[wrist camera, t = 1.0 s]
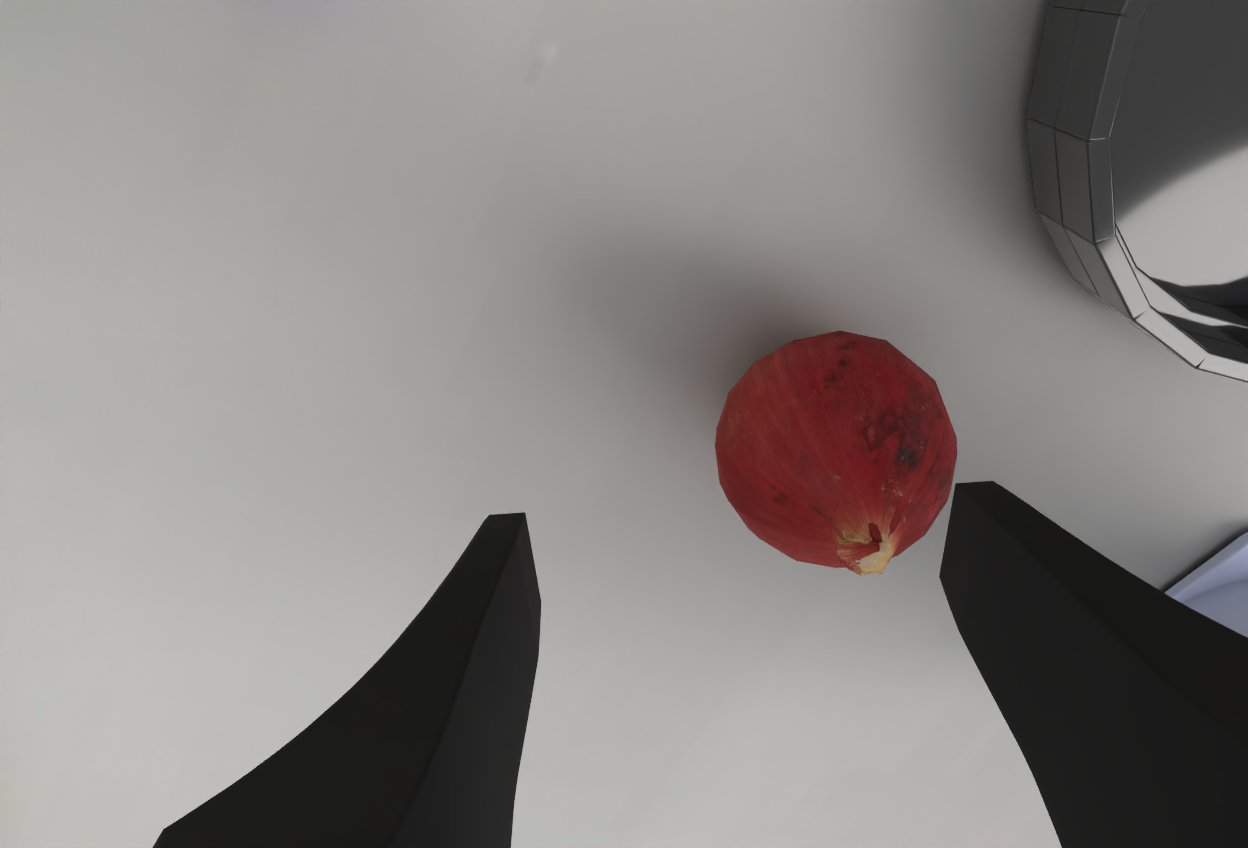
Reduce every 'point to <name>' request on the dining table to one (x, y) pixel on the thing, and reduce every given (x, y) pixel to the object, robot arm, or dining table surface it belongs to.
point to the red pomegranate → (836, 451)
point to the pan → (1150, 165)
